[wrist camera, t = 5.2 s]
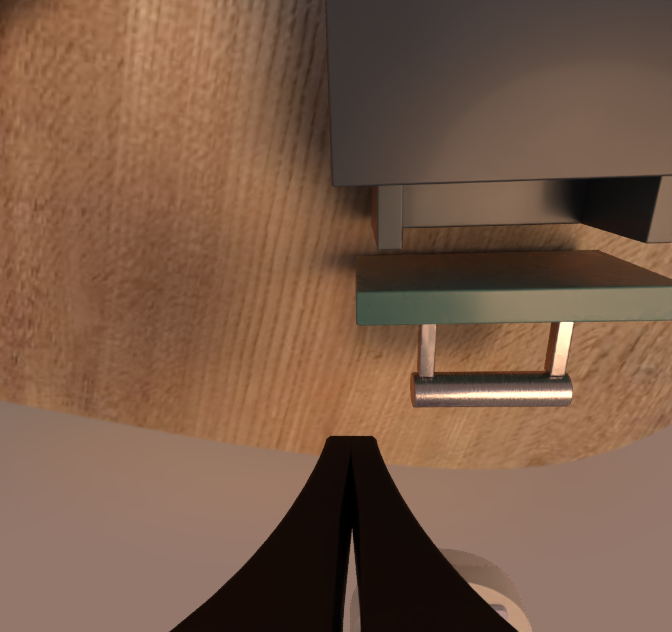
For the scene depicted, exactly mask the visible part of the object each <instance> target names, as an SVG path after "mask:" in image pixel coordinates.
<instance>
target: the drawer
mask: <svg viewBox="0 0 672 632" xmlns="http://www.w3.org/2000/svg"><path fill="white" fill-rule="evenodd" d="M371 209H372V229H373V233H374V238H375V242H376V246H377V249H378V250H401V249H402V240H403V228H435V227H471V226H506V225H542V224H577V223H582V224H585V225H588V226H591V227H594V228H598V229H601V230H604V231H607V232H611V233H614V234H617V235H620V236H624V237H627V238H630V239H633V240H637V241H640V242H643V243H671V242H672V176H659V177H629V178H599V179H570V180H540V181H510V182H480V183H450V184H420V185H390V186H371ZM666 320H672V279H670V278H667V277H665V276H662V275H660V274H657V273H655V272H652V271H650V270H647V269H644V268H642V267H639V266H637V265H634V264H632V263H629V262H627V261H624V260H622V259H619V258H617V257H614V256H612V255H609V254H607V253H604V252H601V251H599V250H577V251H537V252H497V253H457V254H417V255H377V256H356V324H357V325H359V326H363V325H419V332H418V358H417V372H412V373H411V378H410V393H411V402H412V406H413V407H550V406H568V405H569V404H570V403H571V401H572V397H573V387H572V382H571V379H570V377H569V375H568V374H567V373H566V367H567V361H568V356H569V350H570V344H571V339H572V333H573V328H574V322H606V321H666ZM545 322H551V328H550V335H549V341H548V347H547V354H546V360H545V366H544V369H545V371H482V372H434V369H435V350H436V332H437V324H485V323H545Z"/></svg>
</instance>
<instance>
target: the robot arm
mask: <svg viewBox="0 0 672 632" xmlns="http://www.w3.org/2000/svg"><path fill="white" fill-rule="evenodd" d="M352 529H353V542H354V553H355V564H356V575H357V586H358V597H359V608H360V626H361V632H519V631H518V630H516V629H515V628H514V627H513V626H512V625H511V624H510V623H508V622H507V620H508V612H507V609H506V608H505V607H504V606H502V605H489V604H488V603H487V602H486V601H485V600H484V599H483V598H482V597H481V596H480V595H479V594H478V593H477V592H476V591H475V590H474V589H473V588H472V587H471V586H470V585H469V584H468V582H467V581H466V580H465V579H464V578H463V577H462V576H461V575H460V574H459V573H458V571H457V570H456V569H455V568H454V567H453V566H452V565H451V564H450V563H449V562H448V560H447V559H446V558H445V557H444V556H443V554H442V553H441V552H440V551H439V549H438V548H437V547H436V546H435V544H434V543H433V542H432V541H431V539H430V538H429V537H428V535H427V534H426V533H425V531H424V530H423V528H422V527H421V526H420V524H419V523H418V521H417V520H416V518H415V517H414V515H413V514H412V512H411V511H410V509H409V507H408V506H407V504H406V503H405V501H404V499H403V498H402V496H401V494H400V493H399V491H398V489H397V487H396V485H395V483H394V481H393V479H392V478H391V476H390V474H389V472H388V470H387V468H386V465H385V463H384V461H383V458H382V456H381V453H380V451H379V448H378V444H377V440H376V439H375V438H374V437H373V436H330V437H328V438H327V439H326V442H325V446H324V448H323V451H322V453H321V455H320V458H319V460H318V462H317V464H316V466H315V468H314V470H313V472H312V473H311V475H310V477H309V479H308V481H307V483H306V484H305V486H304V488H303V489H302V491H301V493H300V494H299V496H298V497H297V499H296V500H295V502H294V503H293V505H292V507H291V508H290V509H289V511H288V512H287V514H286V515H285V517H284V518H283V519H282V521H281V522H280V523H279V525H278V526H277V527H276V529H275V530H274V531H273V532H272V534H271V535H270V536H269V538H268V539H267V540H266V541H265V542H264V544H262V546H261V547H260V548H259V549H258V550H257V551H256V553H255V554H254V555H253V556H252V557H251V558H250V559H249V561H247V563H246V564H245V565H244V566H243V567H242V568H241V569H240V570H239V571H238V572H237V573H236V574H235V575H234V576H233V577H232V578H231V579H230V580H228V581H227V582H226V583H225V584H224V585H223V586H222V587H221V588H220V589H219V590H218V591H217V592H216V593H215V594H214V595H213V596H212V597H211V598H210V599H208V600H207V601H206V602H205V603H204V604H203V605H201V606H200V607H199V608H198V609H196V611H194V612H193V613H192V614H190V615H189V616H188V617H187V618H186V619H184V620H183V621H182V622H181V623H180V624H178V625H177V626H176V627H175V628H173V630H171V631H170V632H343V617H344V603H345V594H346V583H347V574H348V564H349V554H350V544H351V533H352Z"/></svg>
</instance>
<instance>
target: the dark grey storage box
mask: <svg viewBox="0 0 672 632" xmlns="http://www.w3.org/2000/svg"><path fill="white" fill-rule="evenodd" d="M325 13H326V40H327V68H328V95H329V122H330V149H331V176H332V187H361V186H390V185H420V184H450V183H480V182H510V181H540V180H570V179H599V178H629V177H659V176H672V0H325Z"/></svg>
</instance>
